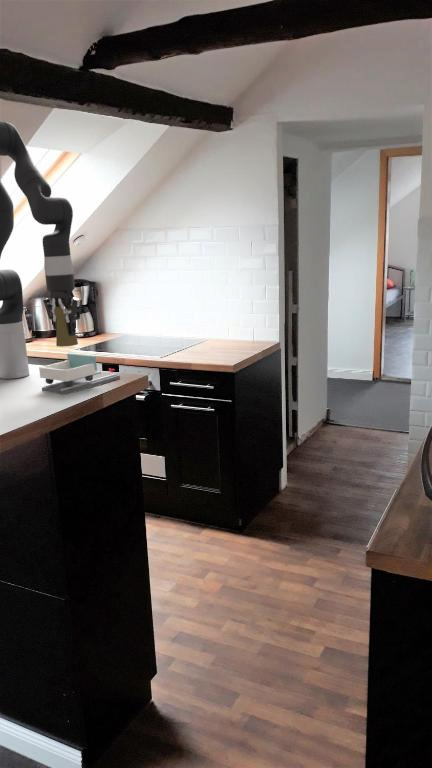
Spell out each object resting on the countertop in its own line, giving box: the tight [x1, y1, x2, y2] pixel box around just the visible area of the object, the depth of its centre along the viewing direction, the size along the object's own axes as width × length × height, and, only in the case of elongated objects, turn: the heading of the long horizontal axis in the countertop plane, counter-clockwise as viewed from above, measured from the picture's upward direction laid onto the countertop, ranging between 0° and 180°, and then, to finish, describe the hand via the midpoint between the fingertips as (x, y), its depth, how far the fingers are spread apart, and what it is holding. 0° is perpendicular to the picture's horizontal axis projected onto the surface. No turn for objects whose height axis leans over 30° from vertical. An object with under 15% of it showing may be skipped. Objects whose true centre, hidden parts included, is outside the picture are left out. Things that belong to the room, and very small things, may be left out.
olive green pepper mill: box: [54, 306, 79, 348], centre depth 168 cm, size 6×6×11 cm
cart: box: [38, 353, 98, 387], centre depth 171 cm, size 11×11×7 cm
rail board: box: [41, 371, 121, 396], centre depth 175 cm, size 10×21×1 cm, turn 144°
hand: (66, 334), depth 169 cm, fingers closed on olive green pepper mill, 4 cm apart
